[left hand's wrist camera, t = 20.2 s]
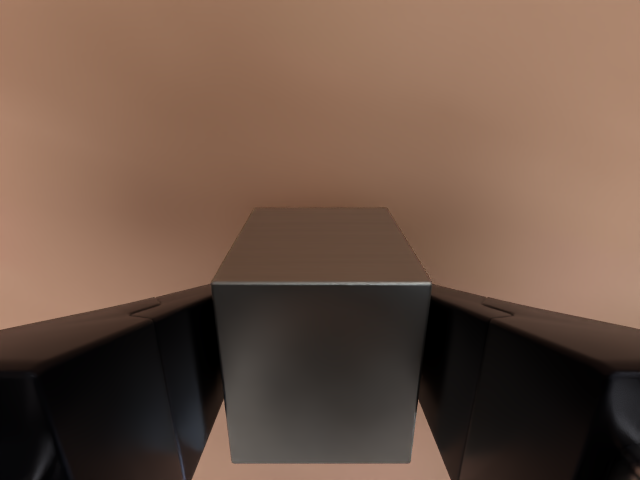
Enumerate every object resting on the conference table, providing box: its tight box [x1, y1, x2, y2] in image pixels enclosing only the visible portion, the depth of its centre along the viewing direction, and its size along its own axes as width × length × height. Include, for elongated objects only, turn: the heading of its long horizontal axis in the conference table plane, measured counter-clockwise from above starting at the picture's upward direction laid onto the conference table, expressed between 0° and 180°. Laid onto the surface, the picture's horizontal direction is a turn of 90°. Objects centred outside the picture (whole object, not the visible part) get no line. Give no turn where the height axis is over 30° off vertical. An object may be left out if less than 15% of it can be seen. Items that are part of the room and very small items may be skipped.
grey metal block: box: [211, 208, 432, 464], centre depth 10 cm, size 5×4×5 cm
